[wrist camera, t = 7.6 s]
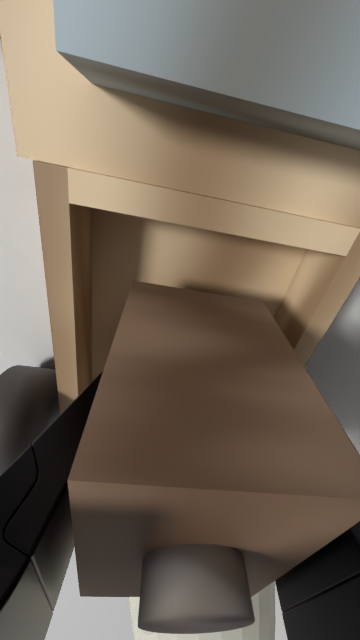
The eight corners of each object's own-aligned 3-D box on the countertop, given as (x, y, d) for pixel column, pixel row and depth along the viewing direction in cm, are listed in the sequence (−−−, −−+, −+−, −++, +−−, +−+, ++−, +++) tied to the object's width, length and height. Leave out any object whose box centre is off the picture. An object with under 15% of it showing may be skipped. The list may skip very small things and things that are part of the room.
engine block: (263, 301, 9) (436, 578, 3) (217, 411, 12) (258, 645, 6) (132, 280, 8) (37, 569, 2) (121, 401, 11) (69, 648, 6)
